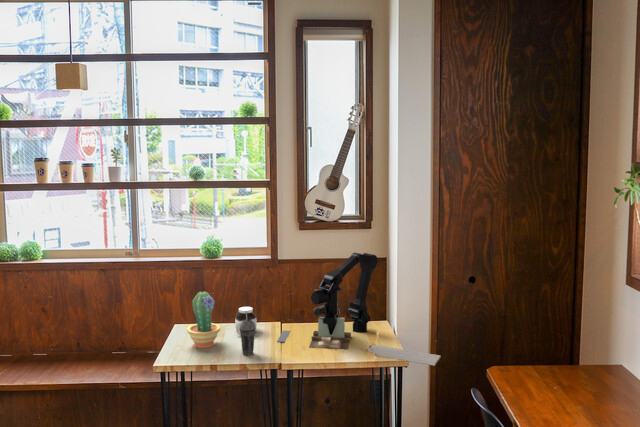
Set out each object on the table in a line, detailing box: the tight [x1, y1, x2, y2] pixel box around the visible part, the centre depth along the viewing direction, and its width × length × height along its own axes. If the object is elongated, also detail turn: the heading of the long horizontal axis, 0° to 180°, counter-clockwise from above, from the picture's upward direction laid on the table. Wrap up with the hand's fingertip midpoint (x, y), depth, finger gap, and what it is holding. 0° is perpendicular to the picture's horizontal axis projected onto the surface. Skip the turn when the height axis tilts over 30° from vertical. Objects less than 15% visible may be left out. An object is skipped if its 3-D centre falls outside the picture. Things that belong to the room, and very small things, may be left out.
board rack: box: [308, 330, 352, 351], centre depth 281 cm, size 18×18×3 cm
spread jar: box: [234, 306, 258, 337], centre depth 296 cm, size 12×11×12 cm
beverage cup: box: [239, 311, 257, 357], centre depth 267 cm, size 7×7×20 cm
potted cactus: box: [186, 291, 221, 349], centre depth 278 cm, size 15×15×25 cm
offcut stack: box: [318, 337, 341, 348], centre depth 276 cm, size 10×4×4 cm, turn 83°
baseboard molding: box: [366, 344, 441, 367], centre depth 266 cm, size 31×3×12 cm
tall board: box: [317, 316, 346, 338], centre depth 285 cm, size 12×4×10 cm, turn 83°
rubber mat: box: [276, 330, 291, 344], centre depth 290 cm, size 14×16×1 cm
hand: (331, 332), depth 285 cm, fingers closed on tall board, 4 cm apart
